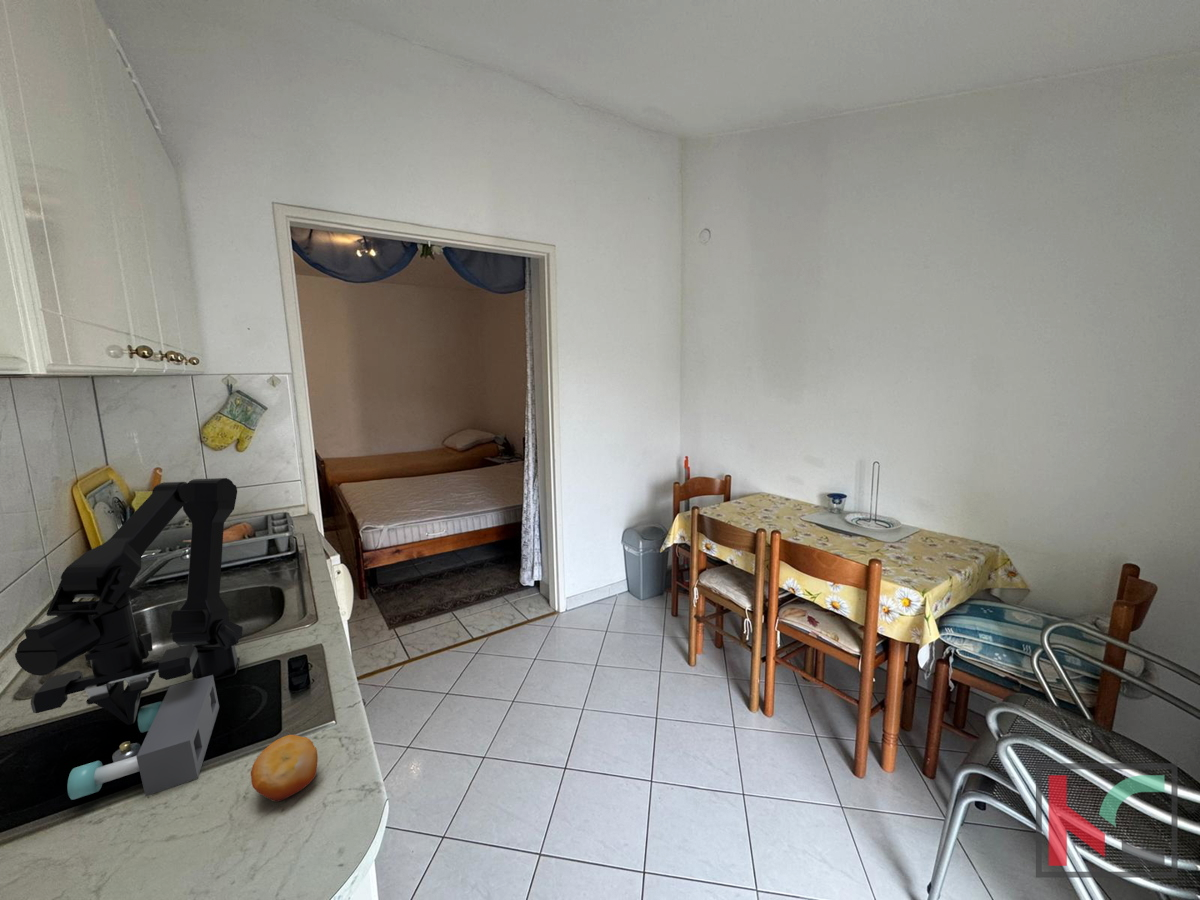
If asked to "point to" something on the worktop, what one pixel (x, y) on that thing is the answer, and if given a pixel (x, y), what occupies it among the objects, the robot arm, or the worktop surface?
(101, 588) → the robot arm
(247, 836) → the worktop surface
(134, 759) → the knob
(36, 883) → the worktop surface
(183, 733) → the mount
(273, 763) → the fruit
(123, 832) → the worktop surface
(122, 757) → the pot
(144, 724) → the knob
